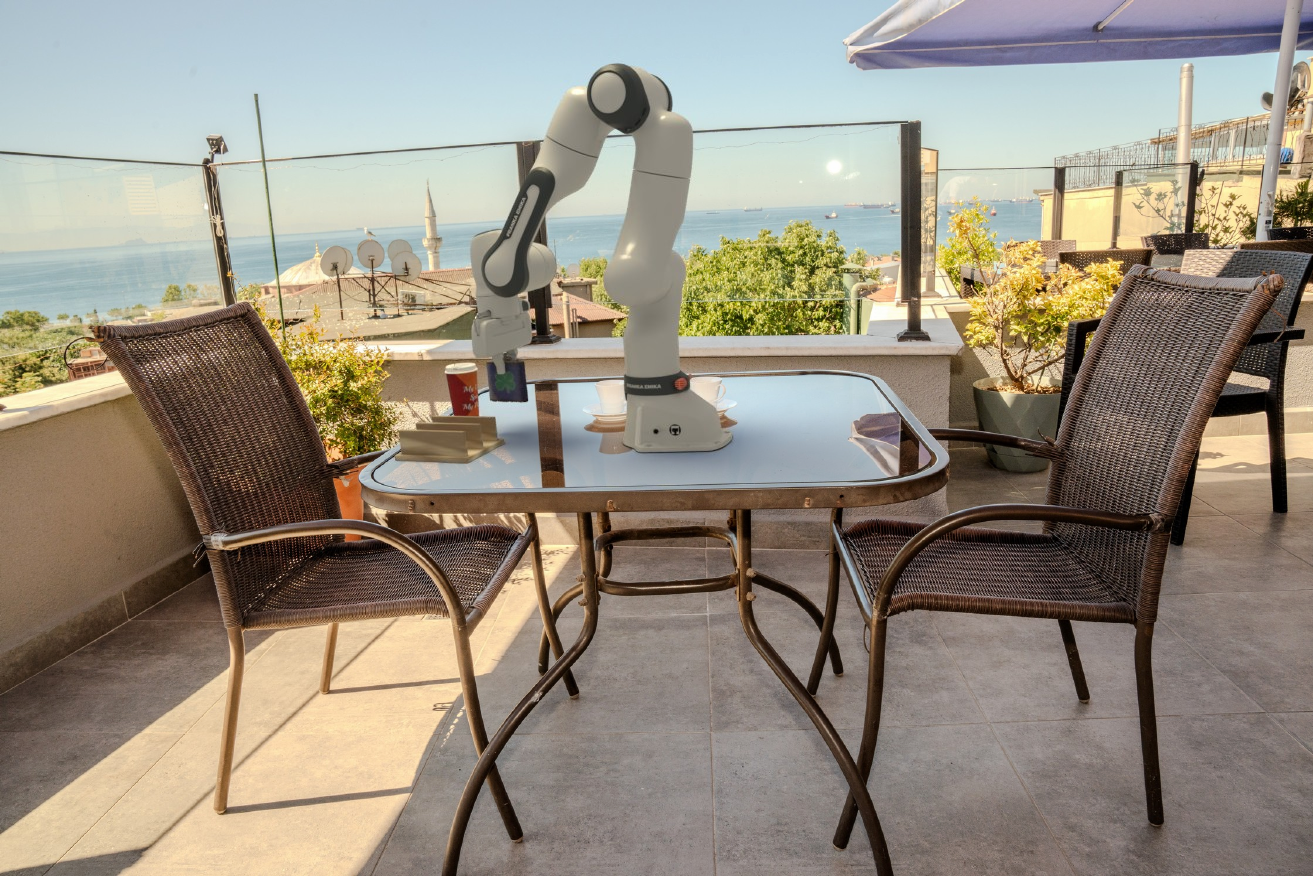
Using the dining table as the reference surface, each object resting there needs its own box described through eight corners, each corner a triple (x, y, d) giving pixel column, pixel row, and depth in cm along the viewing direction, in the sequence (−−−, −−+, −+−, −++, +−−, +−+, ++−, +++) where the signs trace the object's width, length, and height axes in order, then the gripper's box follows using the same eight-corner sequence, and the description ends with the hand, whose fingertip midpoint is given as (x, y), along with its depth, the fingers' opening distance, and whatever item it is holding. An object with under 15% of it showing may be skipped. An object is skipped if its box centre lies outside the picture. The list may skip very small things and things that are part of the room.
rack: (436, 440, 190) (432, 414, 188) (504, 443, 184) (501, 415, 183) (395, 460, 176) (391, 431, 175) (467, 463, 171) (464, 433, 169)
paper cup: (476, 427, 200) (469, 367, 196) (445, 427, 202) (438, 368, 198) (489, 419, 207) (482, 361, 204) (459, 419, 209) (452, 362, 205)
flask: (487, 401, 190) (483, 353, 187) (494, 398, 193) (490, 351, 190) (525, 403, 187) (520, 353, 184) (531, 400, 190) (527, 351, 187)
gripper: (486, 313, 174) (496, 380, 178) (533, 301, 193) (541, 362, 196) (459, 315, 176) (469, 381, 180) (508, 303, 195) (516, 363, 198)
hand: (507, 371), depth 188 cm, fingers closed on flask, 3 cm apart
